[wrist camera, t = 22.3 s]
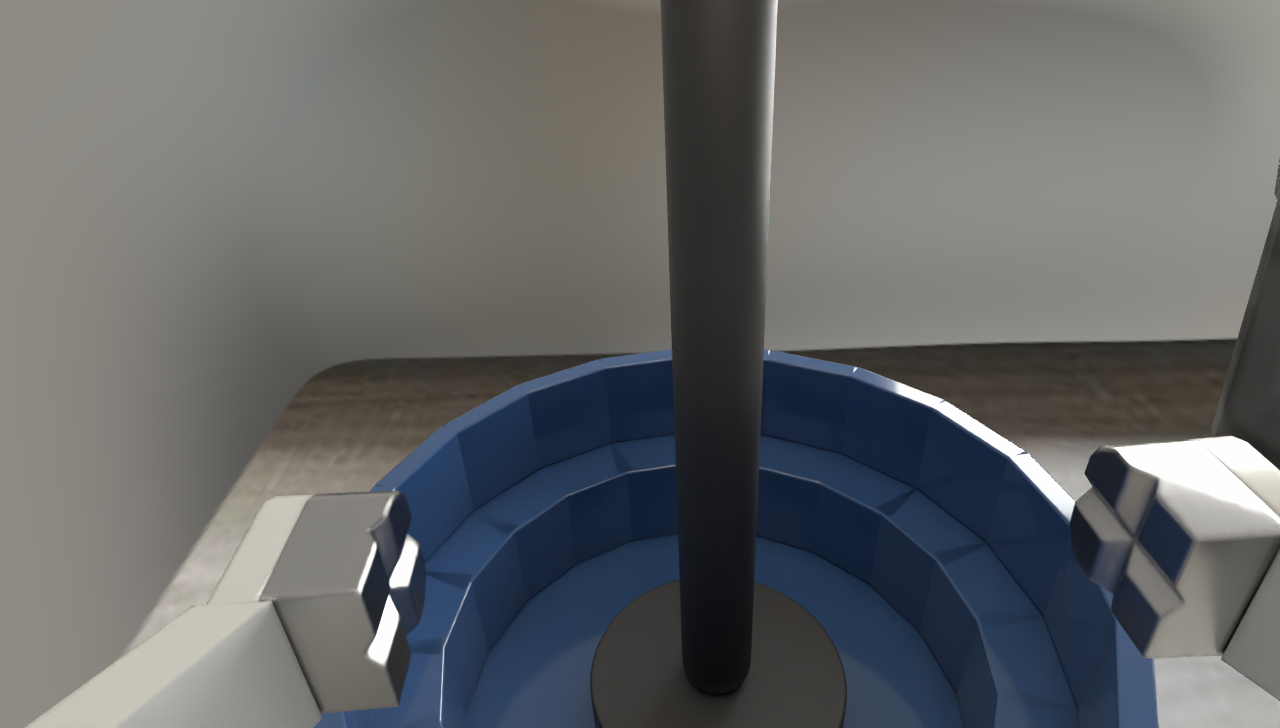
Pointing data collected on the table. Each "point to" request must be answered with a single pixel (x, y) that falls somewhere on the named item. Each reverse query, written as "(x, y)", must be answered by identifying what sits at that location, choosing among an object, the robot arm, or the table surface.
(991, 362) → the table surface
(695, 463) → the peg stand
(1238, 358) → the beverage cup
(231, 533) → the table surface
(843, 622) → the mixing bowl
